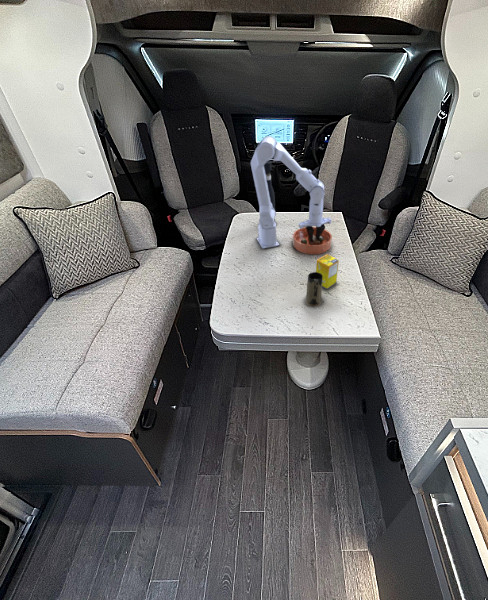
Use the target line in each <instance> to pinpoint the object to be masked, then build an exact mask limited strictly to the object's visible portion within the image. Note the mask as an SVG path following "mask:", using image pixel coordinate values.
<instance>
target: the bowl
mask: <svg viewBox="0 0 488 600" xmlns="http://www.w3.org/2000/svg"><path fill="white" fill-rule="evenodd" d="M312 227H313V229H314V233H313V235H314V236H315V237H316V226H312ZM321 236H322V237H323V238H324V241H323V242H322V243H320V245H311V244H310V242H309V241H308V232H307V230H306V228H305V227H304V228H302V229H300V228H298V229H297V230H295V231H294V232H293V234H292V245H293V248H294V249H295V250H296V251H298V252H300V253H303V254H305V255H320V254H321V255H322V254H324V253H326V252H328V251H329V250H330V249H331V247H332V241H333V235H332V234H331V232H330V231H328V230H327V229H326V228H325V229H324V231H323V232H322V234H321ZM302 239H306V240H307V244H303V243H301V240H302Z"/></svg>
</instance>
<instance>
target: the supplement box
mask: <svg viewBox="0 0 488 600" xmlns="http://www.w3.org/2000/svg"><path fill="white" fill-rule="evenodd" d="M339 262H340V260H339V259H338V258H336V257H334V256H332V255H330V254H328V253H327V254H325V255H323V256H321V257H319V258H317V259H316V267H315V272H318V273H320V274H322V276H323V279H322V289H323V290H325V291H327V290H329V289H331V288H332V287H334V286H335V285H337V281H338V272H339V271H338V270H339Z"/></svg>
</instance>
